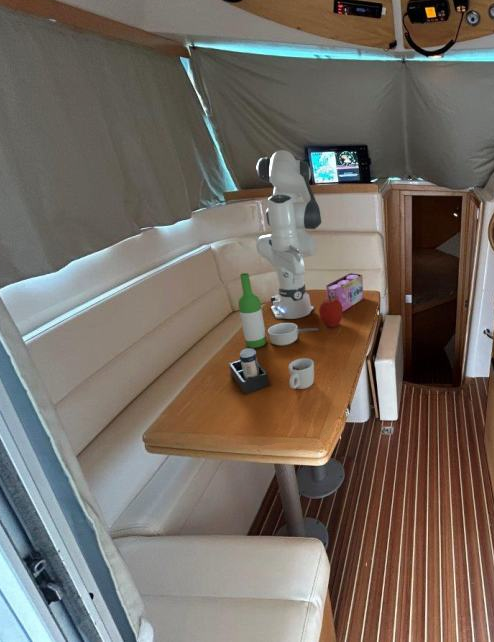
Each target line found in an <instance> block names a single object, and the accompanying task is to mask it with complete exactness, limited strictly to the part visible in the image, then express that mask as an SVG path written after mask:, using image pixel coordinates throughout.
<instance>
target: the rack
mask: <svg viewBox="0 0 494 642" xmlns="http://www.w3.org/2000/svg"><path fill="white" fill-rule="evenodd" d="M228 366H229V371H230V375H231V377H232V379H234V381H235V382H236V384H237V385H238V386H239V388H240V389H241V391H242V392H243V393H244V395H247V394H250V393H252V392H255V391H258V390H260V389H263V388H265V387H268V386H270V381H269V376H268V372H267V371H266V370H265V368H263V367H262V366H261V365H260V364H259V363H258V368H259V373H260V375H259V376H256V377H253V378H250V379H247V380H245V379H244V374H243V369H242V364H241V359H239V360H236V361H232V362H230V363H228Z"/></svg>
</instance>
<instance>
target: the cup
mask: <svg viewBox="0 0 494 642" xmlns="http://www.w3.org/2000/svg"><path fill="white" fill-rule="evenodd" d="M287 367H288V372H289V375H290V377H289V382H288V383H289V386H290V389H293V390H294V389H299V390H304V389H308V388H310V387H311V386H313V384H314V381H315V362H314V360H312V359H311V358H308V357H302V358H297V359H294V360H292V361H291V362H290V363H289V364H288V366H287Z"/></svg>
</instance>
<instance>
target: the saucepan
mask: <svg viewBox="0 0 494 642" xmlns="http://www.w3.org/2000/svg"><path fill="white" fill-rule="evenodd" d="M312 331H315V332H316V331H319V328H318V327H310V328H309V327H307V328H298V325H297V324H296V323H294V322H281V323H276V324H273V325H272V326H270V327H269V328H268V329H267V333H268V334H269V342H270V343H271V344H273V345H276V346H288V345H291V344H293V343H294V342H296V341H297V340H298V337H299V334H303V333H304V332H312Z"/></svg>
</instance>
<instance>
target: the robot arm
mask: <svg viewBox="0 0 494 642" xmlns="http://www.w3.org/2000/svg"><path fill="white" fill-rule="evenodd" d="M256 172H257V176H258V178H259V179H260V181H262V182H264V183H267V184H268V183H269V184H270V183H271V185H272V186H273V192H272V195H271V196H270V197H268V199H267V208H266V210H265V215H266V222H267V225H268V226H269V227H270V229H271V232H270V233H269V234H264V235H261V236H260V237H259V238H258V239H257V241H256V244H255V245H256V251H257V253H258V254H259V256H260V257H262V258H264V259H265V260H266V261H268V262H269V264H271V265H272V267H273V268H274V270H275V272H276V275H277V280H278V289H277V290H278V294H275V295H271V296H270V303H271V304H272V306H271V307H270V308H271V311H272V313H273V315H274V317H275V319H287V320H294V319H301V318H304V317H307V316H308V315H310V314H311V312H312V311H313V310H314V309H315V308H314V306H313V305H311V299H310V295H309V293H308V292H307V287H306V284H305V281H304V275H305V274H306V267H305V266H306V265H305V260H304V258H308V257H312V256H314V254H315V253H316V251H317V242H316V239H315V238H314V237H313V236H312V235H311V234H309V233H308V232H307V230H316V229H317V228H318V227H320V225H321V224H322V221H323V215H322V214H323V213H322V210H321V208H320V206H319V204H318V202H317V200H316V198H315V194H314V192H313V190H312V187H311V183H310V180H311V178H312V177H311V176H312V170H311V167H310V165H309V163H308V162H307V161H305V160H302V159H299V160H298V159H296V158H295V156H294V155H293V154H292V153H291V152H290V151H288V150H286V149H280V150H277V151H275V152H274V153H273V154H272V156H271V157H268V156H266V157H265V156H264V157H261V158H260V159H258V161H257V164H256ZM299 197H301V198H302V200H303V201H299Z"/></svg>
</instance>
